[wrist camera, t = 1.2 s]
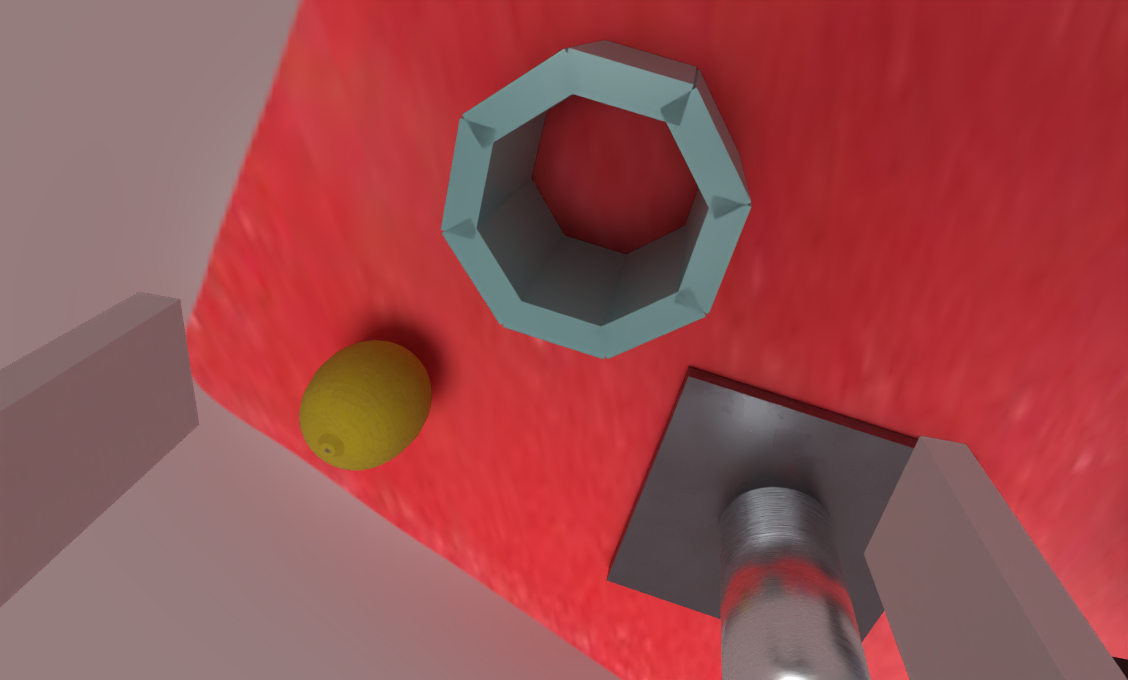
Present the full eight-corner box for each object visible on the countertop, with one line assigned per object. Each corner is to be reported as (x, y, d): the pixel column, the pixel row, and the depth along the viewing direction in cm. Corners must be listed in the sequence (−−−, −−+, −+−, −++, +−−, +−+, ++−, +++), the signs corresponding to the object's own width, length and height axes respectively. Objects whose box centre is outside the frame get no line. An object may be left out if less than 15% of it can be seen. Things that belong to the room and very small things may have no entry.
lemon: (345, 384, 36) (258, 472, 29) (365, 299, 34) (275, 373, 27) (438, 423, 36) (373, 521, 29) (465, 341, 34) (401, 426, 27)
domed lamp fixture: (975, 457, 31) (1097, 657, 21) (844, 647, 38) (892, 865, 28) (689, 366, 32) (681, 518, 22) (609, 567, 38) (575, 752, 29)
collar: (766, 86, 26) (788, 112, 19) (686, 299, 31) (680, 384, 23) (537, 20, 27) (476, 20, 20) (491, 238, 31) (428, 303, 24)
